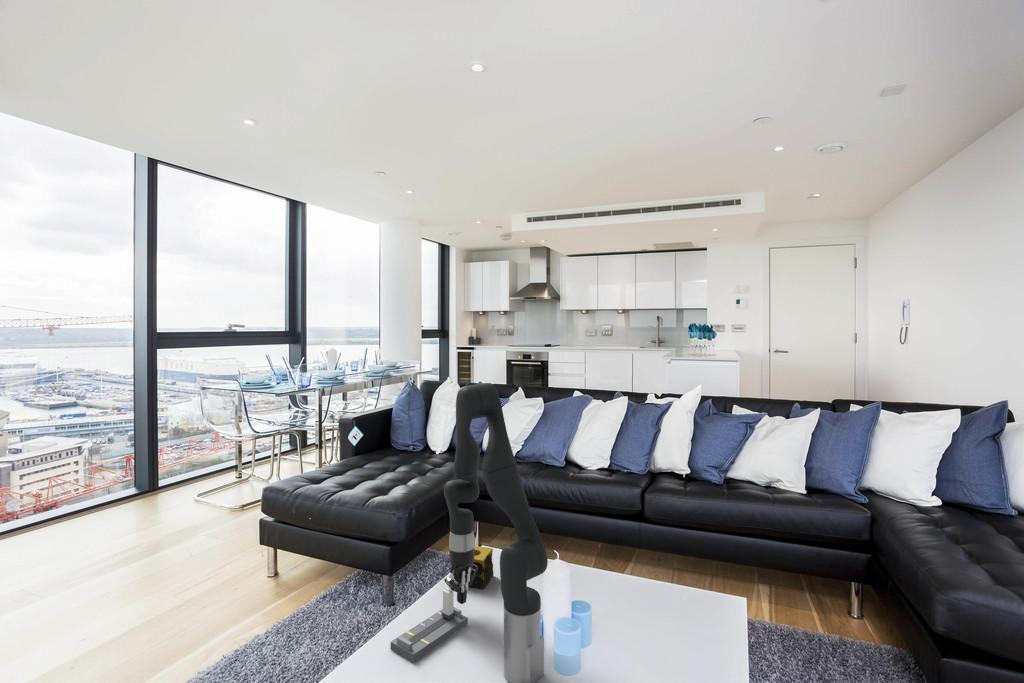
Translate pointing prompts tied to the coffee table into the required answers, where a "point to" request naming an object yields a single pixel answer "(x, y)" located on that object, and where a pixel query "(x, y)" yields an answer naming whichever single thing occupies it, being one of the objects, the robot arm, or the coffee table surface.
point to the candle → (482, 567)
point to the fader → (448, 603)
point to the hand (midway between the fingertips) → (462, 602)
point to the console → (428, 635)
